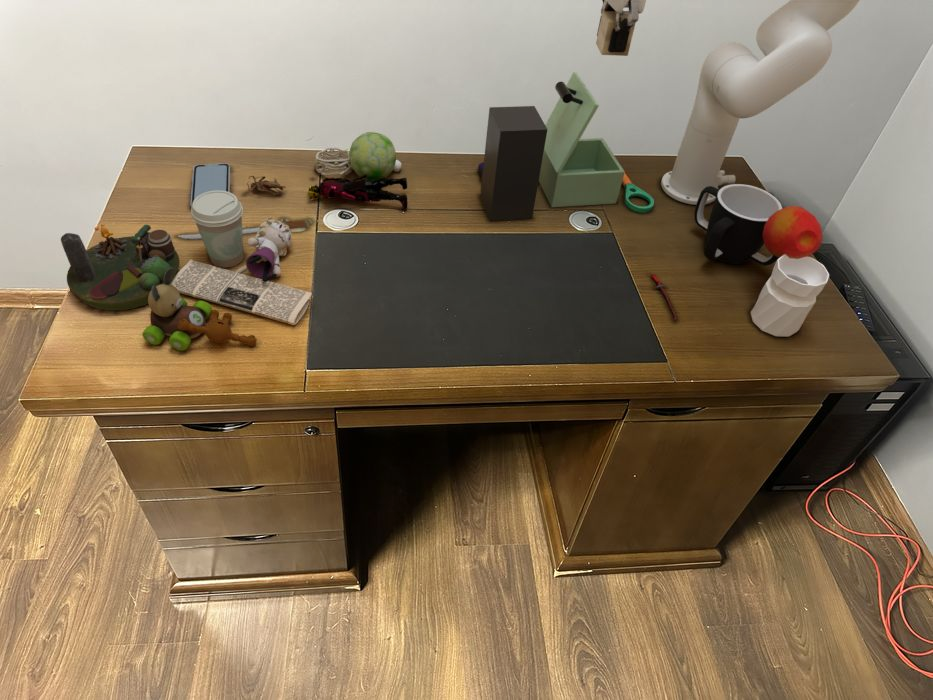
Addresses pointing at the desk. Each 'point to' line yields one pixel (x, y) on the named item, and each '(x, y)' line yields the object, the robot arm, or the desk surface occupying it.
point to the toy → (268, 249)
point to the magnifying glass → (636, 192)
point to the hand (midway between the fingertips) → (610, 43)
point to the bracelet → (328, 166)
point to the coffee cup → (220, 226)
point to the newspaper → (242, 292)
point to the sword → (293, 226)
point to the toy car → (173, 315)
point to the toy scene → (119, 267)
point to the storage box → (583, 176)
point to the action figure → (359, 189)
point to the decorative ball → (372, 156)
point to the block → (606, 31)
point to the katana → (661, 286)
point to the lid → (568, 120)
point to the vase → (789, 295)
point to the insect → (265, 185)
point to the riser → (512, 162)
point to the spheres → (397, 166)
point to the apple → (792, 233)
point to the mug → (736, 223)
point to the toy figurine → (218, 329)
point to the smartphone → (210, 179)
